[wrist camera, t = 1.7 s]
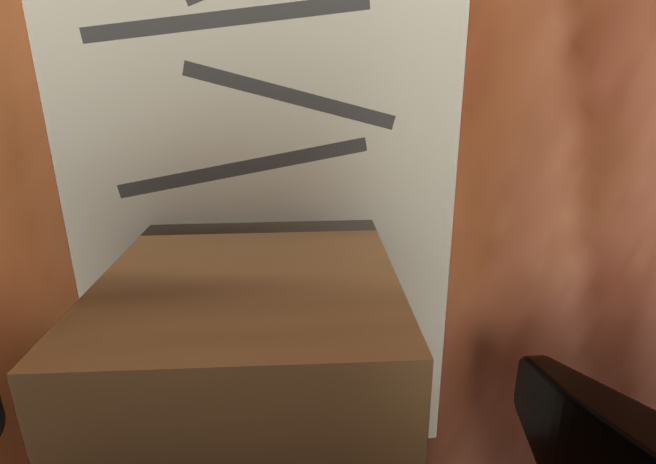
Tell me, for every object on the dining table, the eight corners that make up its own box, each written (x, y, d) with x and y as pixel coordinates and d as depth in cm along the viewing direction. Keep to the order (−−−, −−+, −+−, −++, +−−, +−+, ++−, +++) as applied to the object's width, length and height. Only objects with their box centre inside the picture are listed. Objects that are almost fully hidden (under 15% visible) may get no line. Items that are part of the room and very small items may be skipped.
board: (425, 407, 12) (435, 437, 11) (124, 419, 11) (108, 451, 10) (458, -80, 8) (477, -99, 7) (37, -81, 8) (1, -101, 7)
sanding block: (367, 440, 11) (410, 694, 6) (180, 448, 10) (94, 714, 6) (372, 219, 9) (434, 359, 5) (150, 224, 9) (5, 374, 5)
